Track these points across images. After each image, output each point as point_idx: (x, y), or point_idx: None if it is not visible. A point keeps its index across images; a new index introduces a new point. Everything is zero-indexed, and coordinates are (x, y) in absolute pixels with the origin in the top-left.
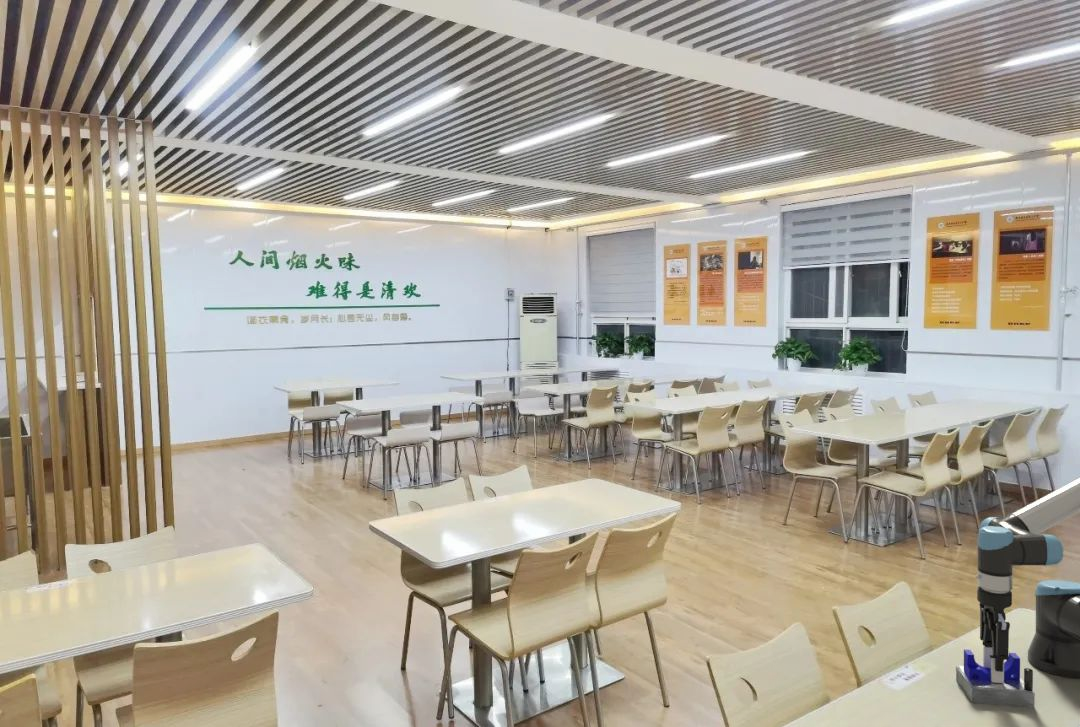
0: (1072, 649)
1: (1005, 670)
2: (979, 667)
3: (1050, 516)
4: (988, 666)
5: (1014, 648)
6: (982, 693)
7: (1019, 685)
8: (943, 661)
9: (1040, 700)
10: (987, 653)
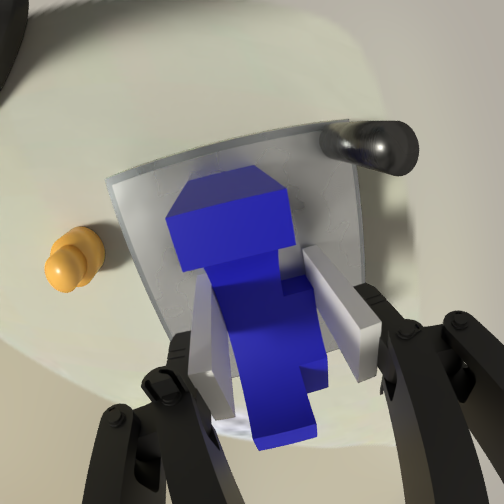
0: None
1: (275, 253)
2: (305, 363)
3: None
4: (221, 319)
5: None
6: None
7: (306, 174)
8: (91, 366)
9: (247, 86)
10: (228, 378)
